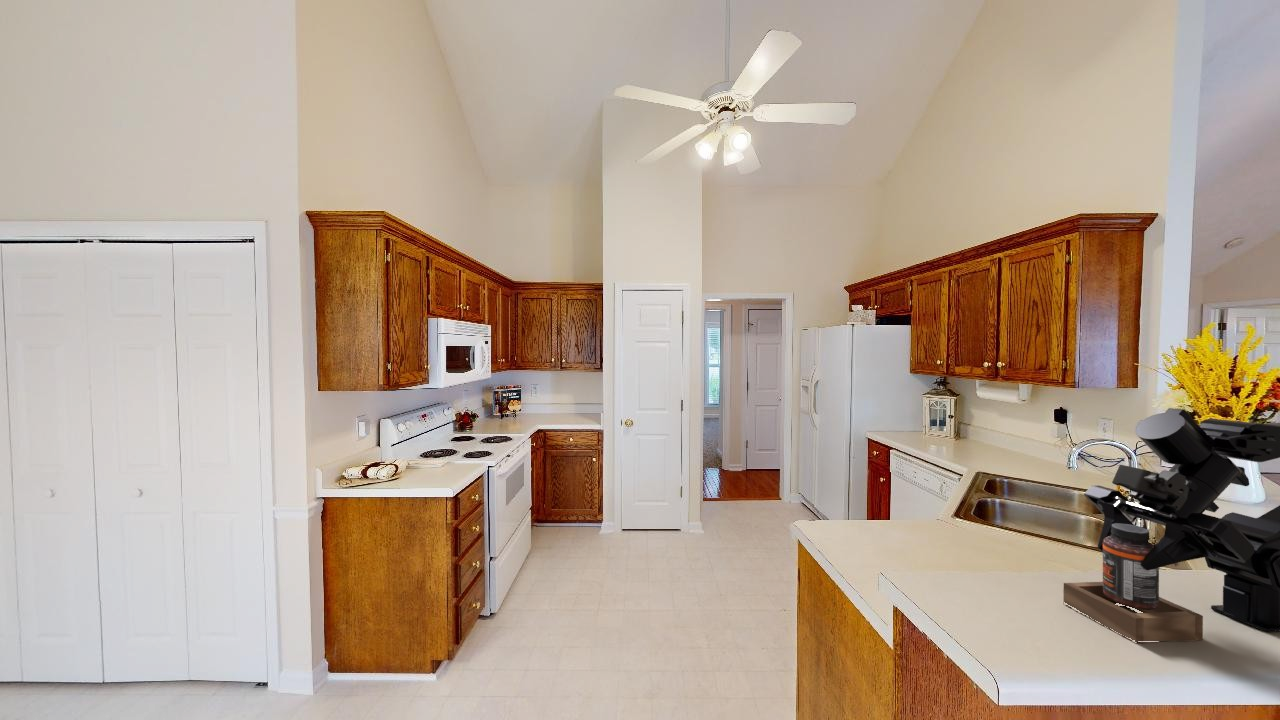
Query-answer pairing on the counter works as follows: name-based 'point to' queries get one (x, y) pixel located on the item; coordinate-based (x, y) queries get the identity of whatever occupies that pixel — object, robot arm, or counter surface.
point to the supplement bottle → (1129, 568)
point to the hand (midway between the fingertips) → (1121, 558)
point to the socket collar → (1135, 615)
